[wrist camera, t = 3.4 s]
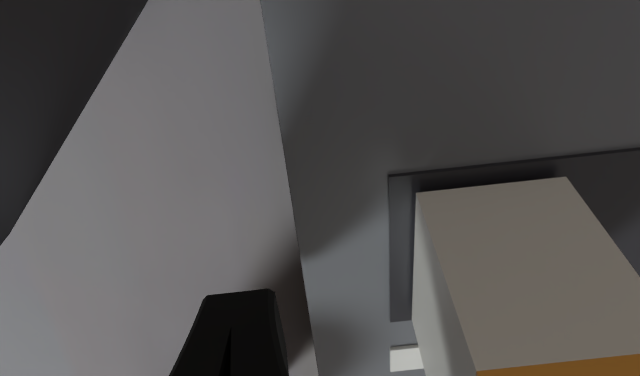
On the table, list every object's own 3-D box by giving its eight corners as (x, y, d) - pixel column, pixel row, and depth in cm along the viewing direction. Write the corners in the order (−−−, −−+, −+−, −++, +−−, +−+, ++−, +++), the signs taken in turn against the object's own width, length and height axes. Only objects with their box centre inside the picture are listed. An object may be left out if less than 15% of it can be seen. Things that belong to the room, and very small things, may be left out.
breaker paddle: (565, 176, 10) (711, 373, 7) (533, 306, 13) (627, 499, 9) (415, 192, 10) (485, 398, 7) (411, 319, 13) (461, 517, 9)
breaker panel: (1011, -118, 10) (1160, -97, 8) (744, 301, 17) (794, 357, 15) (262, -36, 10) (260, 0, 8) (319, 347, 17) (323, 407, 15)
